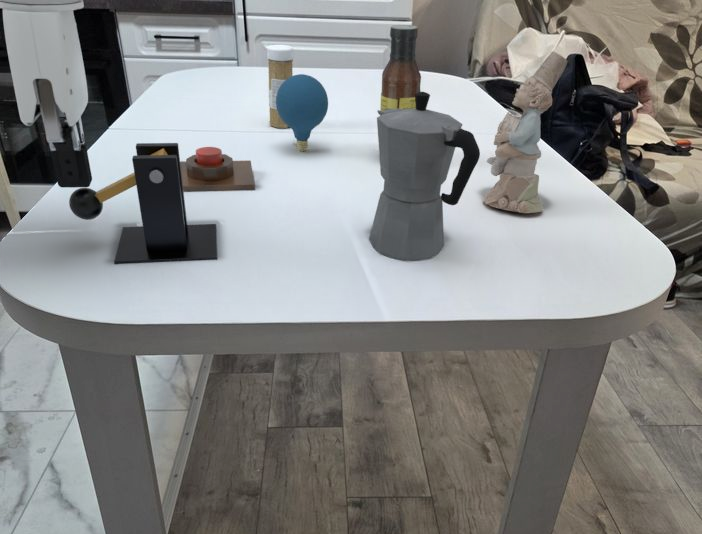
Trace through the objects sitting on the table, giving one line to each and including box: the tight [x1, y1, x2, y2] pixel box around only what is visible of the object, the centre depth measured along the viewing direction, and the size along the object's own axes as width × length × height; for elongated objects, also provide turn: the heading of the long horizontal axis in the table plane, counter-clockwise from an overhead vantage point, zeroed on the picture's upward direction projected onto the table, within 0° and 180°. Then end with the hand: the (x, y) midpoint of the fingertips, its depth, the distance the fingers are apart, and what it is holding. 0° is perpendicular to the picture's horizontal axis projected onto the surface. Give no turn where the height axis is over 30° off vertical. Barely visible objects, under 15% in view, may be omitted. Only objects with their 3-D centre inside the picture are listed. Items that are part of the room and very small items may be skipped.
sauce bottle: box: [379, 24, 422, 110], centre depth 97 cm, size 6×6×20 cm
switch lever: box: [68, 148, 168, 221], centre depth 67 cm, size 12×3×3 cm, turn 101°
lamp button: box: [195, 146, 223, 166], centre depth 88 cm, size 4×4×2 cm
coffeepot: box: [368, 91, 481, 262], centre depth 71 cm, size 15×9×18 cm, turn 39°
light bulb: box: [276, 73, 329, 152], centre depth 101 cm, size 8×8×12 cm
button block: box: [180, 153, 256, 193], centre depth 89 cm, size 12×10×4 cm
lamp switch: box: [113, 142, 218, 265], centre depth 69 cm, size 11×9×12 cm
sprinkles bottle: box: [266, 44, 294, 129], centre depth 112 cm, size 5×5×14 cm
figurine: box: [482, 51, 568, 214], centre depth 83 cm, size 9×8×20 cm
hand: (75, 184), depth 67 cm, fingers closed
